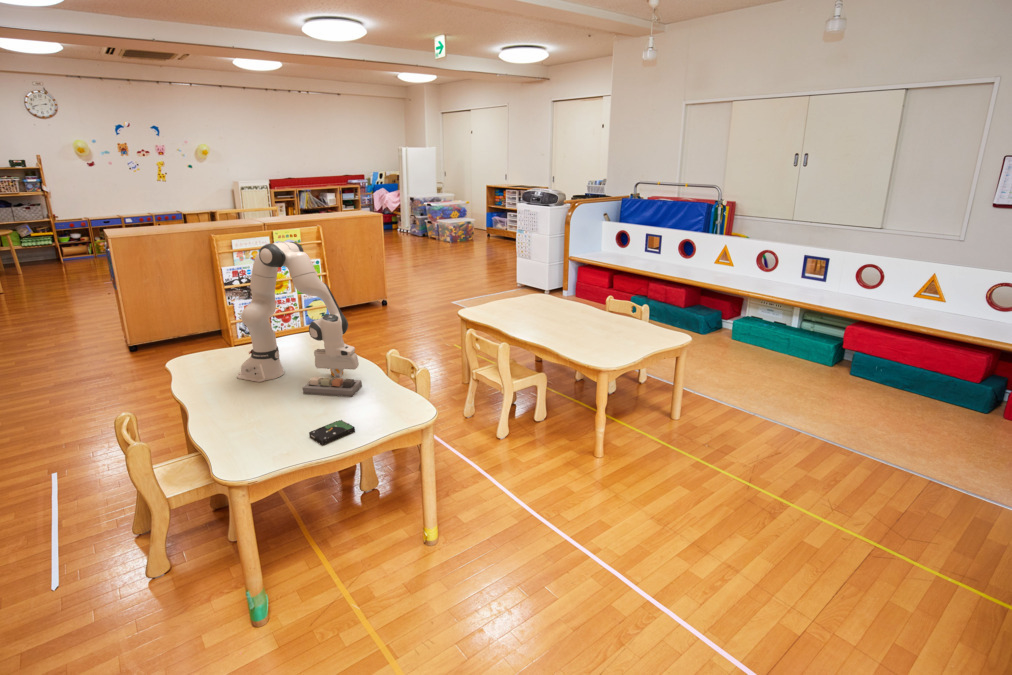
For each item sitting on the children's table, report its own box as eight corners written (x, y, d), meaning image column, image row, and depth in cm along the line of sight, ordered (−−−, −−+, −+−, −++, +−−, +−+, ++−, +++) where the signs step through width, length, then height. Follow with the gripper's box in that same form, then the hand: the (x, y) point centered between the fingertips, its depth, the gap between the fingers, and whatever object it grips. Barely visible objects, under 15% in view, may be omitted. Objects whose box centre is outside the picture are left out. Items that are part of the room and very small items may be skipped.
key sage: (321, 385, 262) (320, 380, 261) (324, 382, 265) (324, 377, 264) (328, 385, 261) (328, 381, 260) (332, 382, 265) (331, 377, 264)
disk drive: (323, 447, 216) (355, 432, 226) (322, 441, 215) (355, 426, 225) (309, 438, 222) (341, 424, 233) (308, 432, 221) (340, 418, 232)
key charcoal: (343, 386, 260) (342, 382, 259) (346, 383, 264) (346, 378, 263) (351, 387, 259) (350, 382, 259) (354, 383, 263) (353, 379, 262)
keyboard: (303, 393, 260) (302, 387, 259) (315, 383, 271) (314, 377, 270) (352, 397, 256) (351, 390, 255) (362, 386, 268) (361, 380, 267)
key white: (310, 384, 262) (309, 380, 261) (314, 381, 266) (313, 376, 265) (317, 385, 262) (317, 380, 261) (321, 381, 265) (320, 377, 264)
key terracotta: (332, 386, 261) (331, 381, 260) (335, 382, 264) (335, 378, 263) (340, 386, 260) (339, 381, 259) (343, 383, 264) (342, 378, 263)
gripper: (310, 351, 255) (314, 378, 260) (352, 352, 252) (356, 380, 257) (316, 346, 261) (320, 373, 266) (358, 347, 258) (361, 374, 263)
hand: (338, 376), depth 261 cm, fingers closed
